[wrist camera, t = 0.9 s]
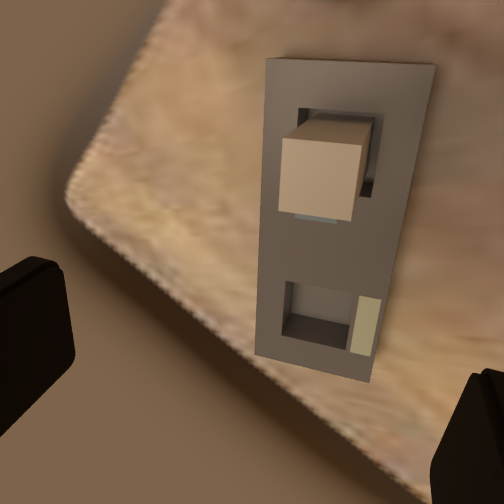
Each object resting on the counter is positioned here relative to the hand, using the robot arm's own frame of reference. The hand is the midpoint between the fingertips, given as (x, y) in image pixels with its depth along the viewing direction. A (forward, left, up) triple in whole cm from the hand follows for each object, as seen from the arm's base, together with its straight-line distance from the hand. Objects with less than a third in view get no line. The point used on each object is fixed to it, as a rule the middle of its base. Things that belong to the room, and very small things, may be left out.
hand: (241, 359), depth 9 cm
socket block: (+1, +6, -25) cm, 25 cm away
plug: (+1, 0, -24) cm, 24 cm away
